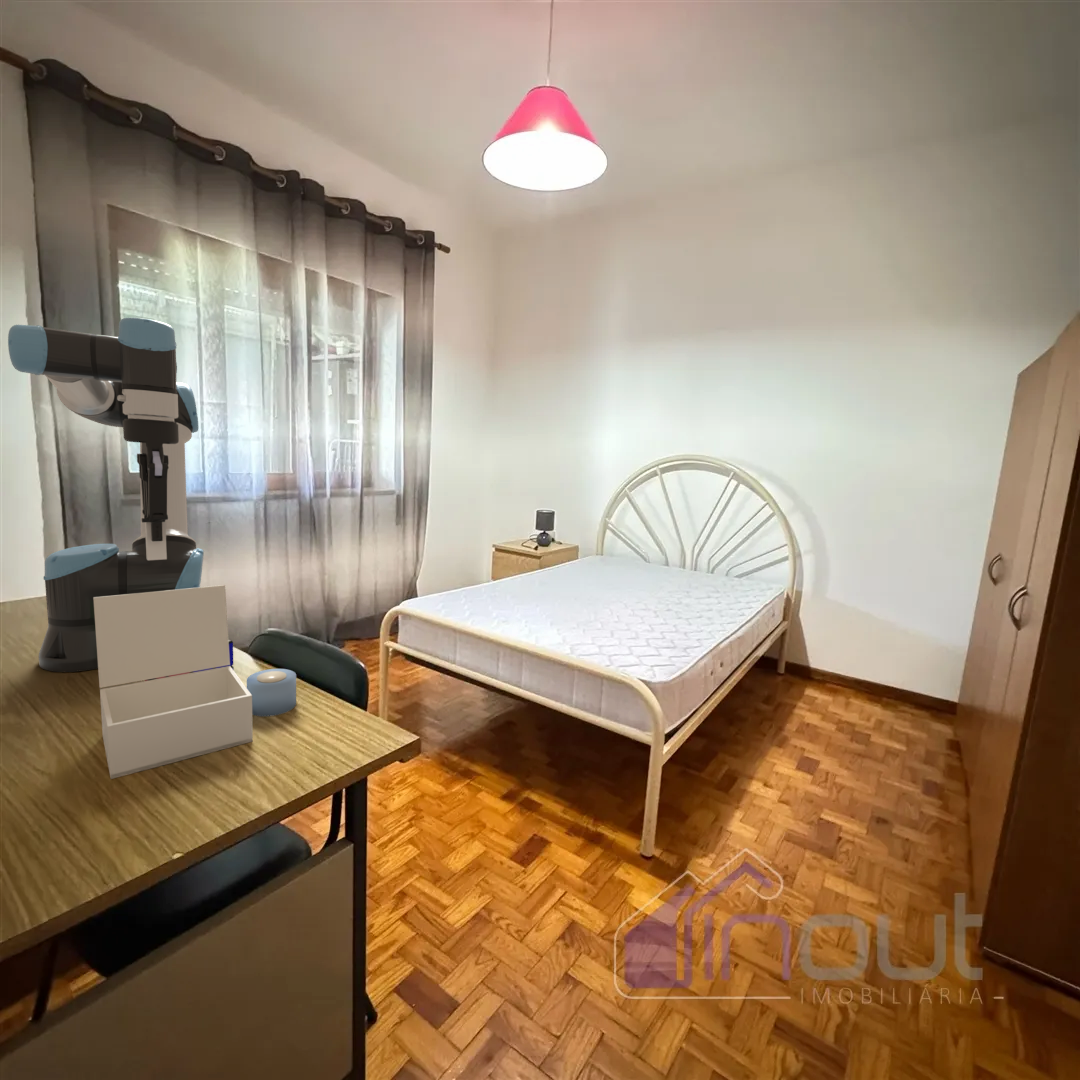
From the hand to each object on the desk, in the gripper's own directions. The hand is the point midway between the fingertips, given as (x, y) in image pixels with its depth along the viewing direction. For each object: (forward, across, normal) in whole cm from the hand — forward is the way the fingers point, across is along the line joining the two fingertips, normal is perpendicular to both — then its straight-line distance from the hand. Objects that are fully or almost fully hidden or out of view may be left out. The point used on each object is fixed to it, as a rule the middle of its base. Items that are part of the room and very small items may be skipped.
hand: (156, 558), depth 96 cm
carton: (+26, +16, 0) cm, 30 cm away
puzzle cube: (+26, +1, +4) cm, 27 cm away
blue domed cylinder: (+26, +12, +15) cm, 32 cm away
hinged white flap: (+11, +8, 0) cm, 13 cm away
